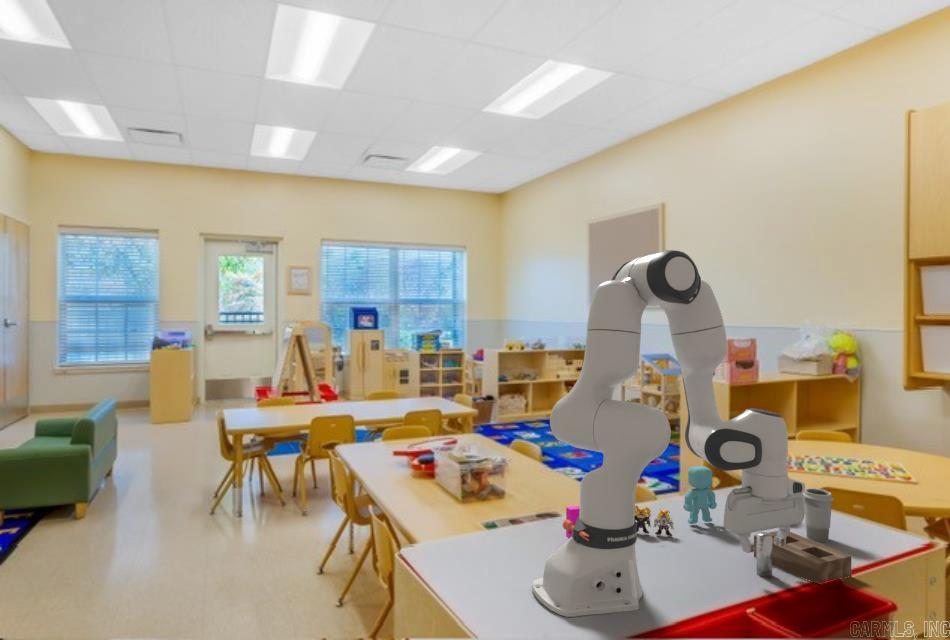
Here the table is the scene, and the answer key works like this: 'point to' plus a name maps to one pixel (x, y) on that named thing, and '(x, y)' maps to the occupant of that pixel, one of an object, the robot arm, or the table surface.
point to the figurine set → (662, 519)
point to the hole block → (809, 559)
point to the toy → (699, 494)
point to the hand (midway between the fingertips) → (764, 548)
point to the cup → (817, 513)
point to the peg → (764, 554)
